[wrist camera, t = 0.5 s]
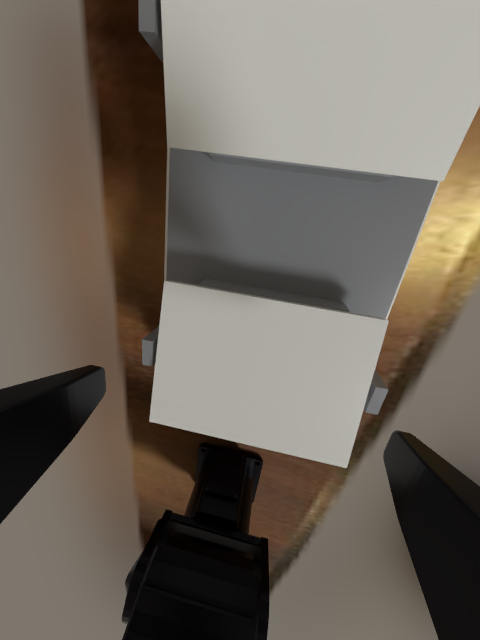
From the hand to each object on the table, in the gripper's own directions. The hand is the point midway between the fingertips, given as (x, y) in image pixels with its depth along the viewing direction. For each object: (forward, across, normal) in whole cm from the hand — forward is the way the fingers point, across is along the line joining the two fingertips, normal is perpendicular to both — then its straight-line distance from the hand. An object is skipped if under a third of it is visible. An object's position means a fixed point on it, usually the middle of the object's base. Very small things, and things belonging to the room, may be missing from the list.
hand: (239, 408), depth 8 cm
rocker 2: (+6, 0, +2) cm, 6 cm away
